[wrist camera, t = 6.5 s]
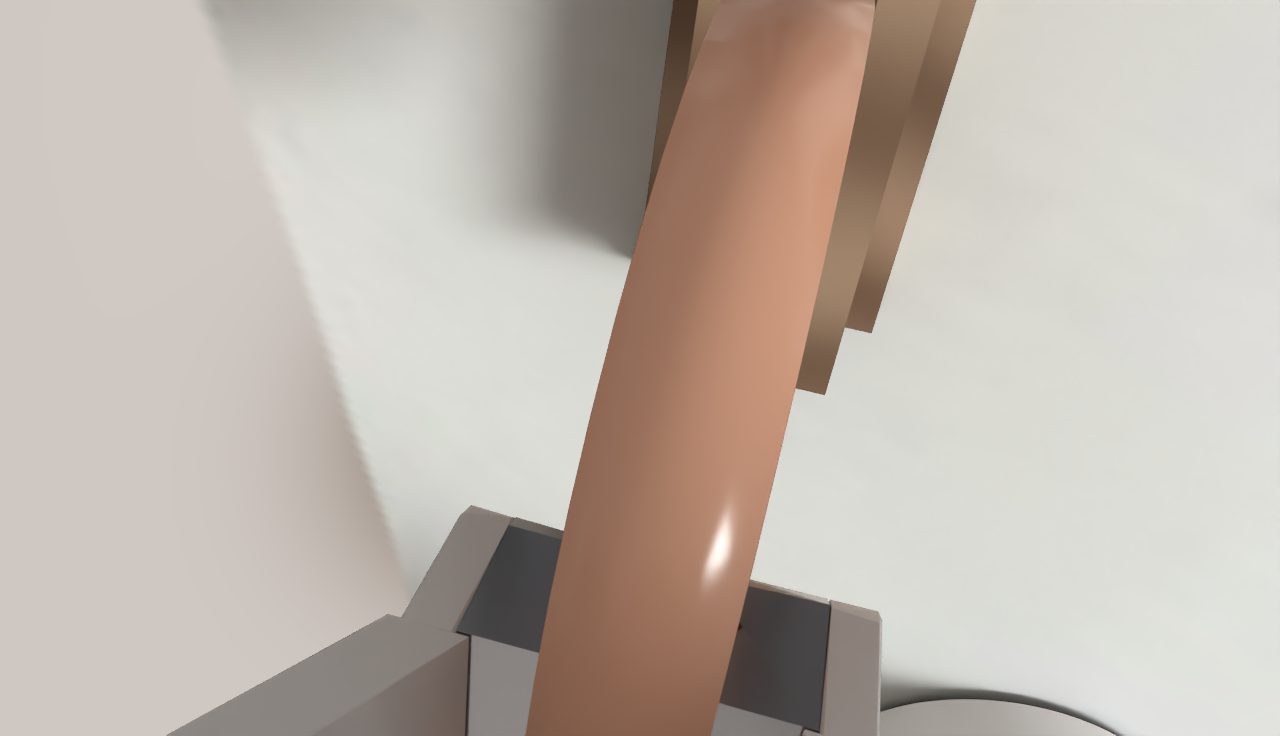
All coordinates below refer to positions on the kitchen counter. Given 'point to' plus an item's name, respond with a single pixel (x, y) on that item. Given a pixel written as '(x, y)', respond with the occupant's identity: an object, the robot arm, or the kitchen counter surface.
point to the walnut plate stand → (855, 154)
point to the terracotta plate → (701, 375)
